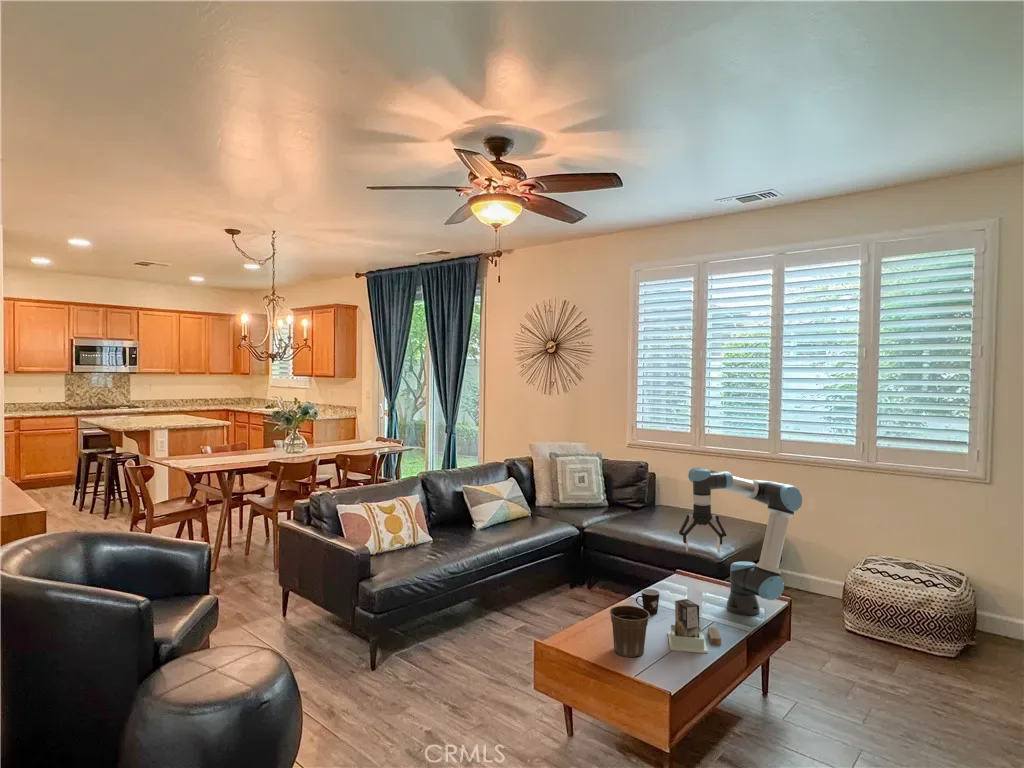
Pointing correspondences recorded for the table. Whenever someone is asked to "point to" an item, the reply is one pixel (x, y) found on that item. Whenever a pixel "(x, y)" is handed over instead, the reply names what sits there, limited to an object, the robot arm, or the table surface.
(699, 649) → the mint green tray
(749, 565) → the robot arm
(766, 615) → the table surface
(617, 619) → the plant pot
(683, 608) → the coffee box
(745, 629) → the table surface
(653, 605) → the coffee mug
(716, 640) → the brown wooden block
